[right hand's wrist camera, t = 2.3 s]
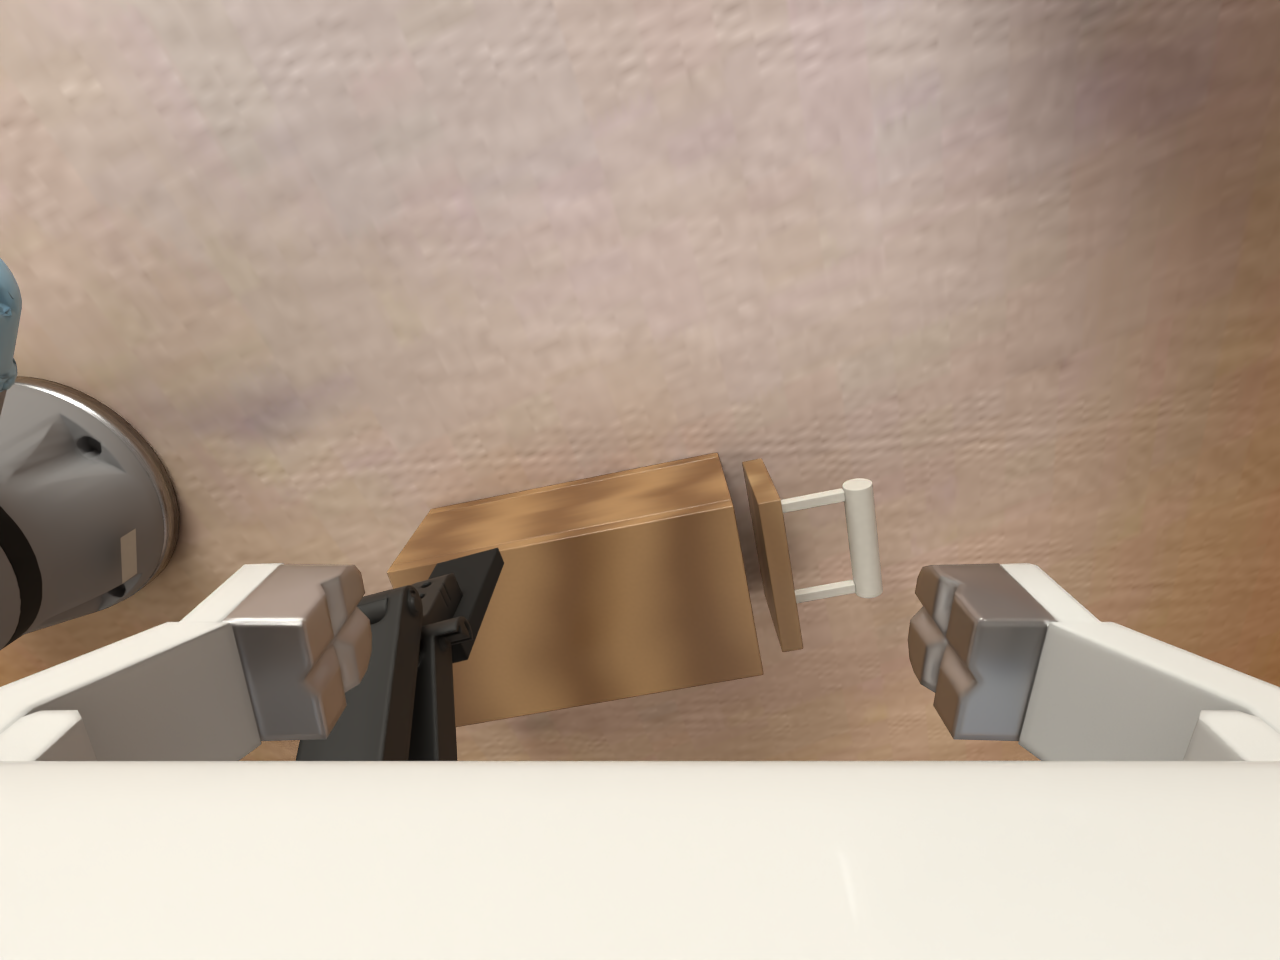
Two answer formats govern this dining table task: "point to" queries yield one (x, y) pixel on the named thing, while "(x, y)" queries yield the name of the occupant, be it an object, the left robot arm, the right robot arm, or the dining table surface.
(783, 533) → the drawer
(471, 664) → the cabinet
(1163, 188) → the dining table surface
